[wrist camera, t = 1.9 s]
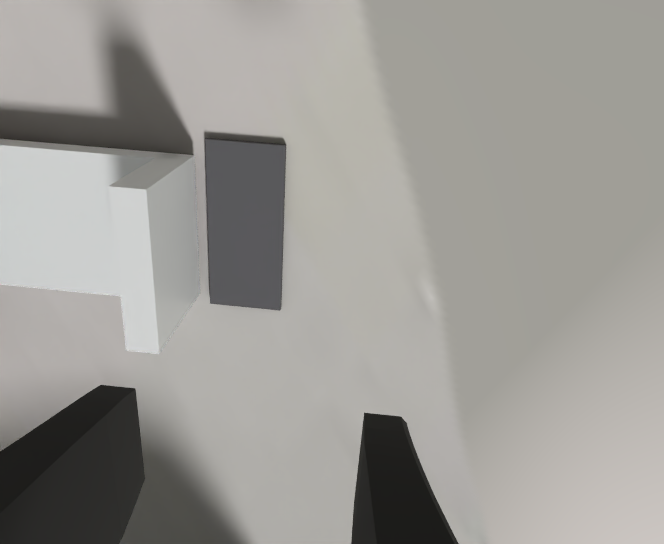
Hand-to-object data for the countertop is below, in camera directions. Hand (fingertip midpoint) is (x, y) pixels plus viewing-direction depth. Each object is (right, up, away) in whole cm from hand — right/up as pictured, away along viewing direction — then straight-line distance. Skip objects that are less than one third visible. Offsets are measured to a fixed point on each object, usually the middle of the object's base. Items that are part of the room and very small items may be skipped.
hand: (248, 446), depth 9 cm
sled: (-12, +5, +10) cm, 16 cm away
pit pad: (-2, +5, +10) cm, 11 cm away
